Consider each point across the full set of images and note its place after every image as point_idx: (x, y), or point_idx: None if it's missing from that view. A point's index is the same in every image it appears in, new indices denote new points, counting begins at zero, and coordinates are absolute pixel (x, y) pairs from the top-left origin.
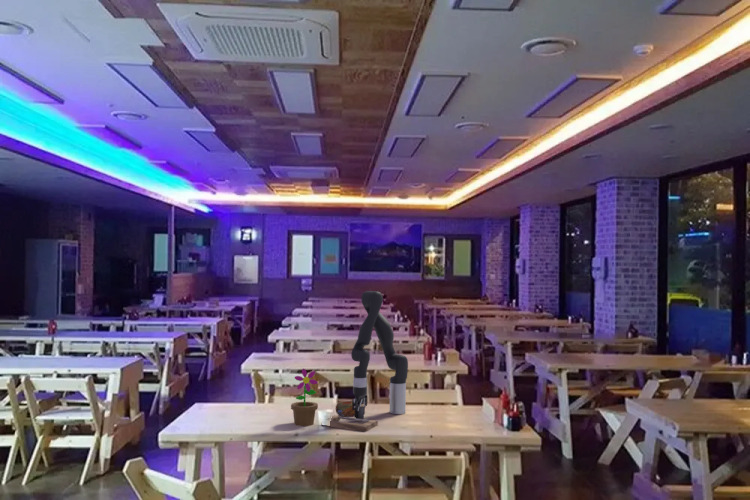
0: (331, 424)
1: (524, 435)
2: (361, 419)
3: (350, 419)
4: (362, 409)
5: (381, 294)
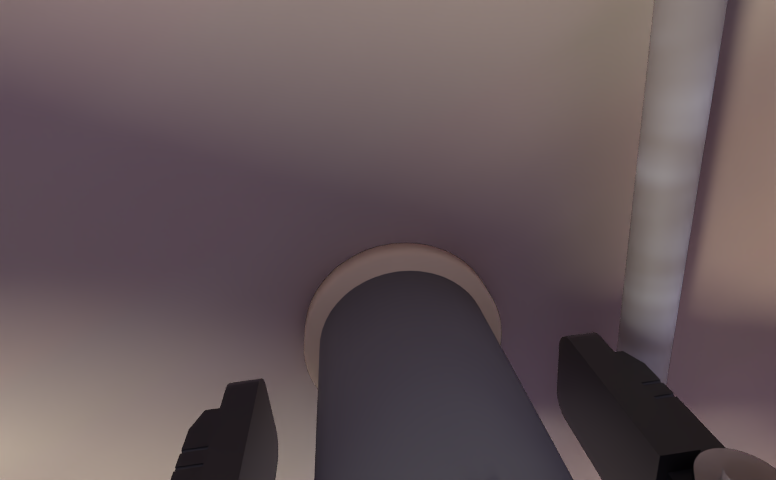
0: None
1: None
2: (694, 185)
3: None
4: (504, 450)
5: None
